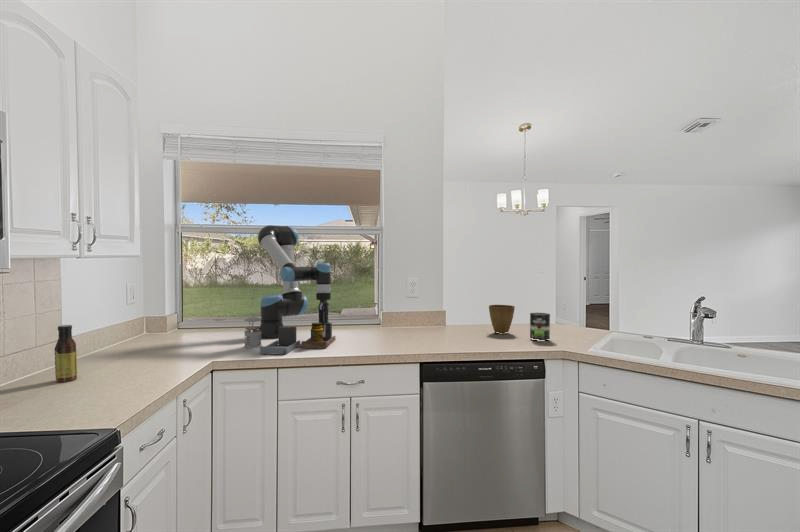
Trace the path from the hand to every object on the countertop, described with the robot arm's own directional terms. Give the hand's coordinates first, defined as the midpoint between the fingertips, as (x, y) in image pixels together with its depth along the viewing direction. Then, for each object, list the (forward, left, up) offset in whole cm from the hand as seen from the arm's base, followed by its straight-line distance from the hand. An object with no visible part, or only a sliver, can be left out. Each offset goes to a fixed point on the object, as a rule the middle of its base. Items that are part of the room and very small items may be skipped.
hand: (323, 336), depth 230 cm
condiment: (+16, 0, -3) cm, 17 cm away
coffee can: (-11, +116, -3) cm, 116 cm away
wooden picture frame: (+9, 0, -2) cm, 10 cm away
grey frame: (+23, -15, -2) cm, 28 cm away
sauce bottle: (+79, -74, -3) cm, 109 cm away
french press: (+17, -31, -3) cm, 36 cm away
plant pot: (-31, +99, -3) cm, 103 cm away
